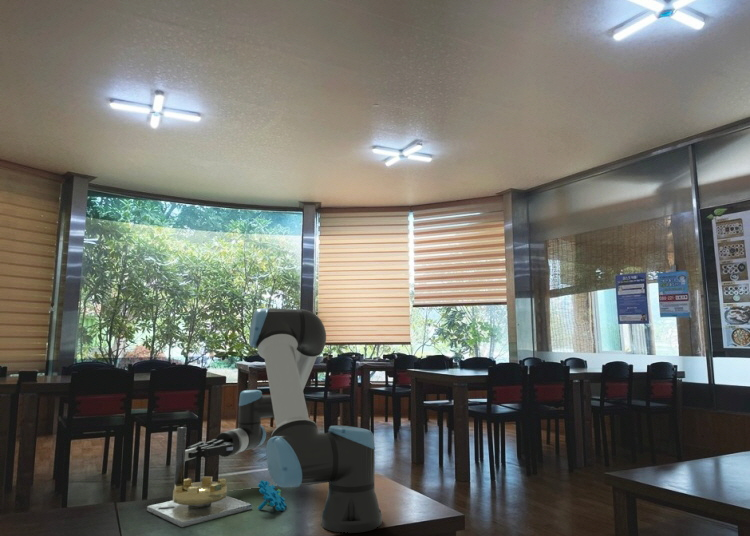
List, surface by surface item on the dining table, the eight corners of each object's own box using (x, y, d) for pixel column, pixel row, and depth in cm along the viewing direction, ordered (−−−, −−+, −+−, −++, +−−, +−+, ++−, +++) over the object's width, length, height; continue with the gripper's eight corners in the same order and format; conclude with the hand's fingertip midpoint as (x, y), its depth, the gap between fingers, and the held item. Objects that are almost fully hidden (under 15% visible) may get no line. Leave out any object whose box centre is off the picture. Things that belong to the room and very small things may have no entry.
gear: (279, 510, 132) (256, 479, 136) (263, 527, 132) (240, 496, 135) (294, 504, 142) (272, 476, 146) (278, 519, 142) (257, 491, 145)
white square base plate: (251, 509, 139) (251, 498, 139) (181, 527, 124) (182, 515, 125) (214, 495, 152) (214, 485, 153) (147, 510, 138) (147, 499, 138)
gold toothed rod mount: (232, 490, 146) (235, 423, 149) (218, 504, 132) (221, 430, 135) (182, 490, 145) (186, 424, 149) (163, 505, 132) (167, 431, 135)
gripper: (247, 456, 161) (195, 473, 139) (214, 453, 165) (159, 469, 143) (248, 431, 162) (197, 445, 140) (215, 429, 166) (161, 442, 145)
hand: (178, 457), depth 142 cm, fingers closed
